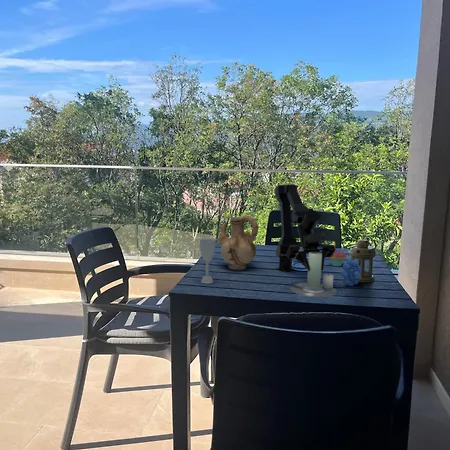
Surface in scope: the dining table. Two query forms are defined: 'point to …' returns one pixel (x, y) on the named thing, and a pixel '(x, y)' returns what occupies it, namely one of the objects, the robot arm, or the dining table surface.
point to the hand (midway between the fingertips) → (315, 270)
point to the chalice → (207, 255)
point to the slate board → (312, 290)
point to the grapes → (351, 272)
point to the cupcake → (337, 257)
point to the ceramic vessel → (238, 242)
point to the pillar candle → (314, 269)
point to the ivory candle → (327, 281)
